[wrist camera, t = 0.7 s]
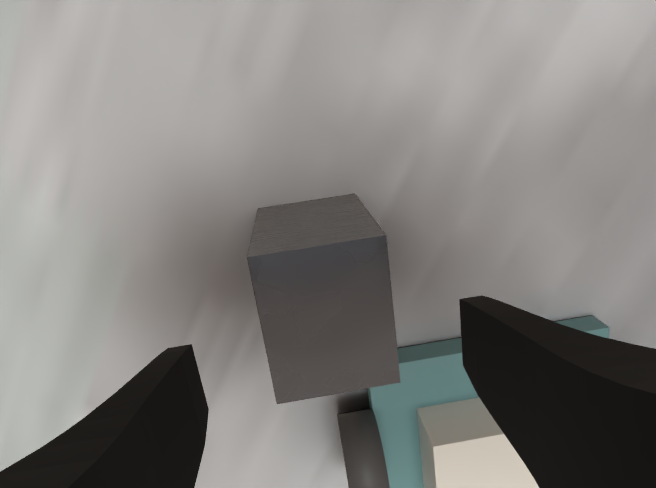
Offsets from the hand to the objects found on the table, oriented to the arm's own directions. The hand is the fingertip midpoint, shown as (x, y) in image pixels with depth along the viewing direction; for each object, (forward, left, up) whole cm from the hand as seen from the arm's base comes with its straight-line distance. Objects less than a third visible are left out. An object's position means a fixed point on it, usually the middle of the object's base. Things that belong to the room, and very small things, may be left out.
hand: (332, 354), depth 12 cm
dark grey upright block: (0, 0, -8) cm, 8 cm away
